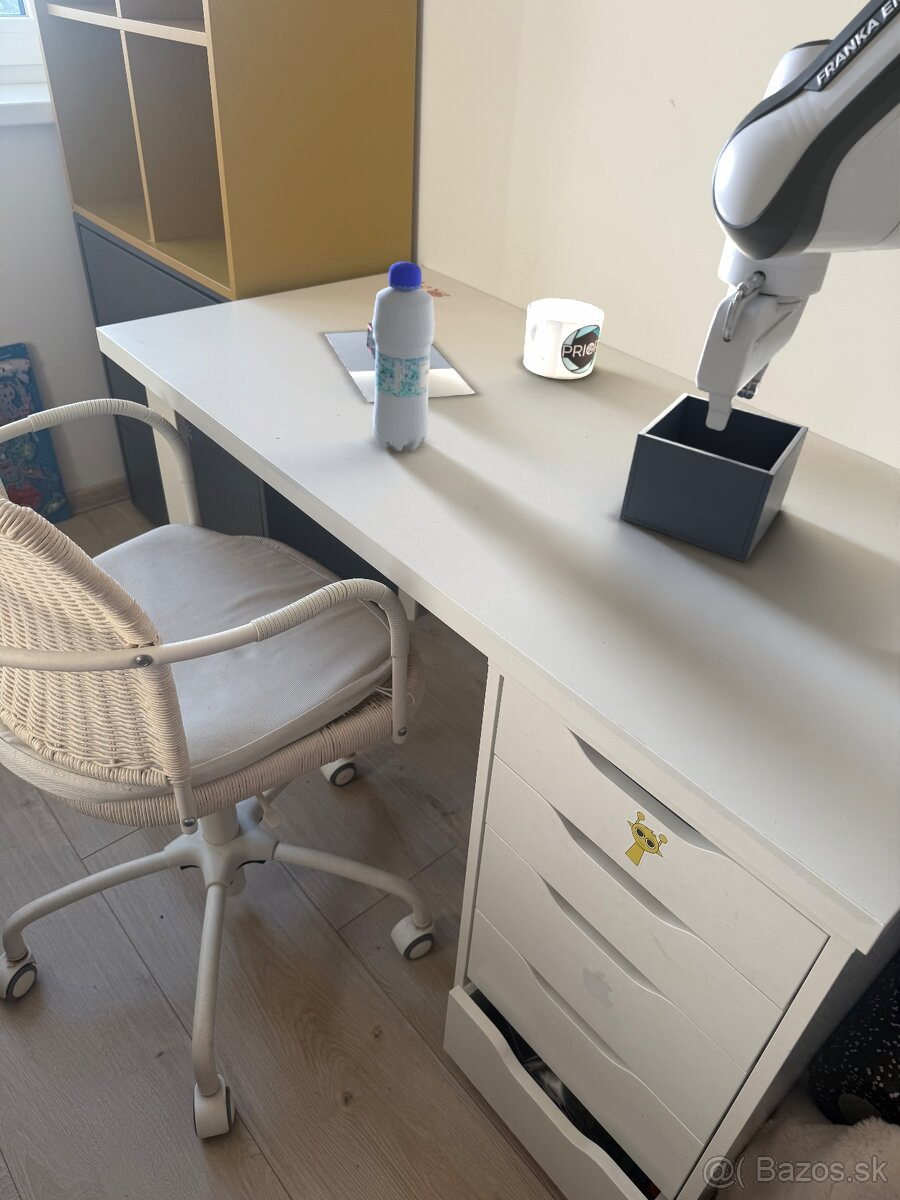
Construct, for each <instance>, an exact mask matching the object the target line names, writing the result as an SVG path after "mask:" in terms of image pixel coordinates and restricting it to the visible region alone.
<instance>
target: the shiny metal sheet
mask: <svg viewBox="0 0 900 1200" xmlns="http://www.w3.org/2000/svg"><path fill="white" fill-rule="evenodd" d="M324 335H325V336H326V338H327V340H328V341H329V343H330V345H331V346H332V347H333V349H334V351H335V352H336V354H337V355H338V357H339V359H340V360H341V362H342V364H343V365H344V366H345V368H346V370H347V371H348V372H349V374H350V376H351V377H352V379H353V381H354V382H355V384H356V385H357V387H358V388H359V390H360V392H361V393H362V395H363V396H364V398H365V399H366V401H367V402H368V403H374V401H375V360H376V343H375V341H374V339H373V327H372V321H371V322H367V331H354V332H353V331H352V332H350V331H349V332H333V333H324ZM475 394H476V392H475V391H474V390H473V389H472V387H470V386H469V384H468V383H467V382H466V380H464V378H462V376H461V375H460V374H459V373H458V372H457V370H455V368H453V366H452V365H451V364H450V363H449V361H447V360H446V358H445V357H444V356H443V355H442V354H441V353H440V351H439V350H438V349H436V347H435V346H434V345H433V343H432V344H431V346H430V364H429V384H428V398H439V397H450V396H451V397H452V396H464V395H475Z"/></svg>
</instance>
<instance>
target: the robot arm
mask: <svg viewBox="0 0 900 1200" xmlns="http://www.w3.org/2000/svg"><path fill="white" fill-rule="evenodd" d="M711 180H712V181H711V200H712V201H711V203H712V206H713V210H714V213H715V216H716V220H717V221H718V224H719V225H720V228H721V230H722V231H723V232H724V234H725V235H726V240H725V242H724V243H725V244H724V249H723V252H722V256H721V260H720V265H719V267H718V272H717V274H718V277H719V279H721V280H722V281H723V282H724V283H726V284H728V285H729V288H728V291H727V295H726V297H725V298H723V299H722V300H721V302H720V303H719V304H718V306H717V308H716V310H715V312H714V315H713V317H712V320H711V323H710V326H709V329H708V332H707V336H706V339H705V343H704V346H703V350H702V352H701V355H700V356H701V357H700V359H699V363H698V366H697V370H696V374H695V387H696V388H697V389H698V390H699V391H702V392H705V393H708V399H709V412H708V416H707V420H706V425H707V426H708V428H712V429H715V430H718V431H721V430H723V429H724V428H725V427H726V426H727V425H728V424H729V421H730V417H731V415H732V411H733V409H731V408H732V406H733V403H734V400H735V398H736V396H737V397H738V398H742V399H743V398H744V399H746V400H752V399H753V398H755V396H756V395H757V394H758V393H759V389H760V386H761V382H762V381H763V378H764V376H765V374H766V372H767V370H768V367H769V366H770V363H771V362H772V359H773V358H774V357H775V356H776V355H777V354H778V353H779V352H780V351H781V350H782V349H783V348H784V347H785V346H786V345H787V344H788V343H789V342H790V341H791V339H792V337H793V336H794V334H795V331H796V329H797V327H798V325H799V323H800V321H801V318H802V316H803V314H804V311H805V309H806V306H807V304H808V301H809V299H810V297H811V296H813V295H816V294H818V293H819V292H820V291H821V290H822V287H823V284H824V281H825V277H826V274H827V271H828V268H829V265H830V262H831V259H832V256H833V253H835V254H836V253H857V252H865V251H868V252H869V251H892V250H898V249H900V0H869V1H868V2H867V3H866V4H865V6H864V7H863V8H862V9H861V10H860V11H859V12H858V13H857V14H856V15H855V16H854V17H853V18H852V19H851V21H849V22H848V24H846V25H845V26H844V28H843V29H842V30H841V31H840V32H839V33H838V34H837V35H836V36H835V37H834V38H833V39H829V38H825V39H818V40H811V41H805V42H803V43H800V44H798V45H795V46H794V47H793V48H791V49H789V50H788V51H787V52H785V53H784V54H783V56H782V57H781V58H780V59H779V62H778V64H777V66H776V68H775V70H774V72H773V75H772V77H771V79H770V81H769V84H768V86H767V89H766V91H765V94H764V96H763V100H761V101H760V102H759V103H758V104H756V105H755V106H754V107H753V108H752V109H751V110H750V111H749V112H748V113H747V114H746V115H745V116H744V117H743V118H742V120H741V121H740V122H739V123H738V125H737V126H736V127H735V128H734V129H733V131H732V133H731V134H730V136H729V137H728V138H727V141H726V142H725V144H724V145H723V147H722V150H721V152H720V154H719V155H718V158H717V160H716V163H715V166H714V171H713V174H712V179H711Z"/></svg>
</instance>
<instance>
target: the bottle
mask: <svg viewBox="0 0 900 1200" xmlns="http://www.w3.org/2000/svg"><path fill="white" fill-rule="evenodd" d="M422 278H423V277H422V270H421V268H420V266H419V265H418V264H416V263H414V262H409V261H398V262H395V263H392V265H390V267H389V270H388V287H385V288H383V289H381V290H379V291H378V292H376V295H375V303H374V310H373V317H372V321H371V322H372V327H373V339H374V341H375V343H376V360H375V401H374V402H373V412H372V414H373V415H372V427H373V433H374V436H375V438H376V440H377V441H378V442H379V444H380V445H381V447H383V448H385V449H388V448H389V447H390V446H391V443H392V444H393V446H394V449H395V451H397V452H401V451H403V449H404V446H405V444H408V448H409V449H410V450H415V449H417V448H419V446H420V444H423V442H425V440H426V439H427V435H428V431H429V397H428V384H429V364H430V346H431V344H432V345H433V343H434V340H435V336H434V333H435V330H436V323H435V311H434V310H435V309H434V298H433V296H432V295H431V293H430V292H427V291H426V290H424V289H422Z"/></svg>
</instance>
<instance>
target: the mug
mask: <svg viewBox="0 0 900 1200" xmlns="http://www.w3.org/2000/svg"><path fill="white" fill-rule="evenodd" d="M604 318H605V314H604V311H603V310H602V308H601V307H598V306H597V305H596V304H592V303H590V302H587V301H584V300H579V299H573V298H564V297H545V298H539V299H535V300H533V301H531V302H530V303H529V304H528V305H527V315H526V325H525V327H526V328H525V342H524V353H523V354H524V355H523V365H524V366H525V367H526V369H527V370H529V371H530V372H531V373H534V374H536V375H539V376H542V377H545V378H549V379H555V380H575V379H576V380H577V379H581V378H584V377H587V376H588V375H589V374H591V373H592V371H593V368H594V363H595V359H596V355H597V350H598V346H599V341H600V336H601V332H602V328H603V322H604Z"/></svg>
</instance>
